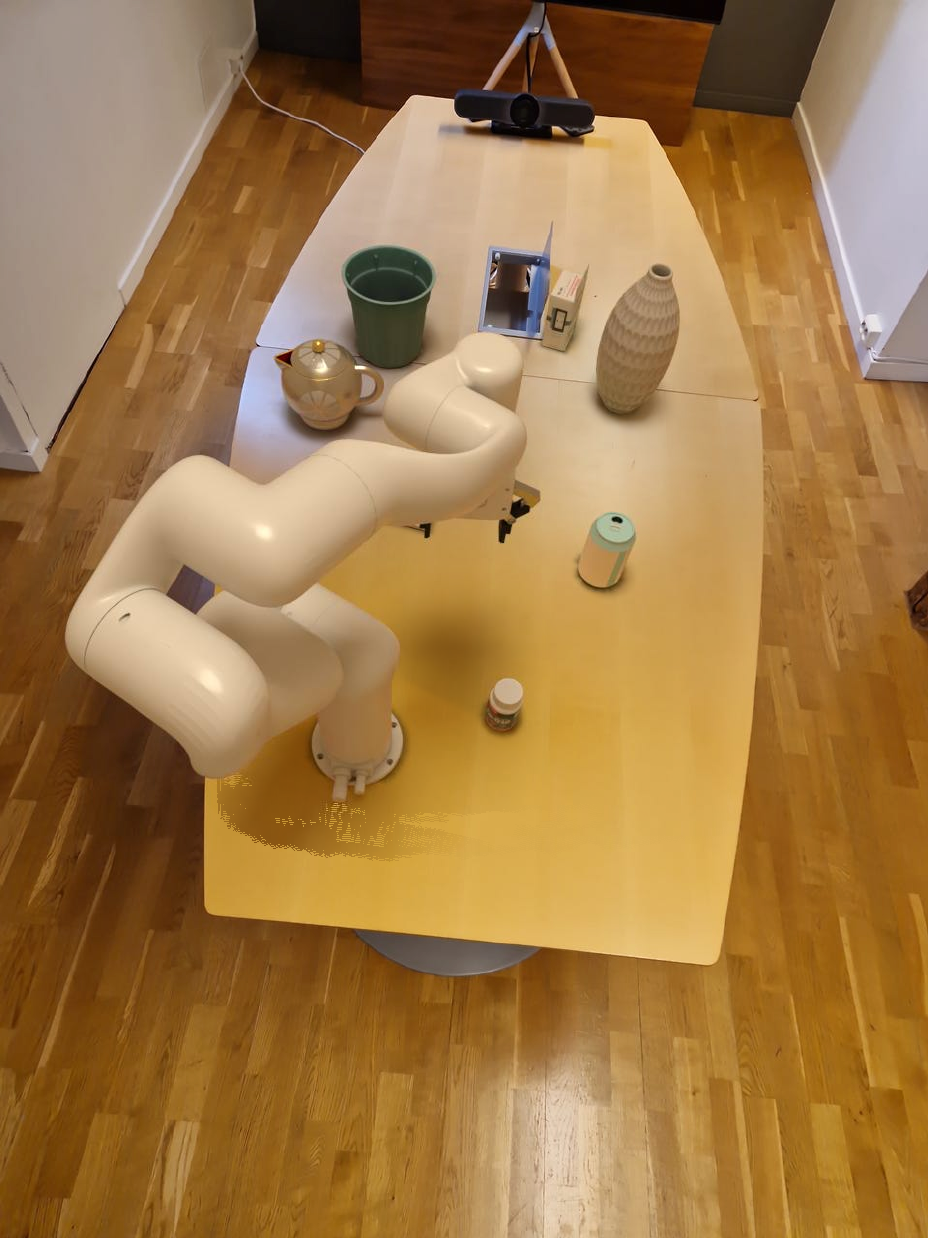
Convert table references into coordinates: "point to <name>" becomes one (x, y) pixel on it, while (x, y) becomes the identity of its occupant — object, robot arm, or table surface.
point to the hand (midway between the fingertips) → (464, 532)
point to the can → (607, 549)
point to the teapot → (324, 382)
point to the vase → (638, 341)
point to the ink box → (564, 309)
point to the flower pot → (388, 302)
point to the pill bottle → (504, 704)
